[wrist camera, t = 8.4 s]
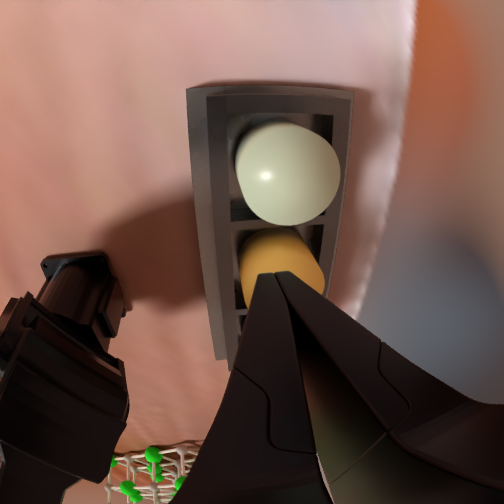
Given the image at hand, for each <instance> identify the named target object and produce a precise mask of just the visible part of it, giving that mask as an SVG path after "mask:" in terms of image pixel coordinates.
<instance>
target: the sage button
mask: <svg viewBox="0 0 504 504" xmlns="http://www.w3.org/2000/svg"><path fill="white" fill-rule="evenodd" d="M234 169H235V173H236V176H237V178H238V181H239V184H240V187H241V190H242V193H243V196H244V198H245V201H246V203H247V204H248V206H249V207H250V209H251V210H252V211H253V212H254V213H255V214H256V215H257V216H259V217H260V218H262V219H264V220H265V221H267V222H270V223H273V224H277V225H297V224H301V223H304V222H307V221H309V220H311V219H313V218H315V217H316V216H318V215H319V214H320V213H322V212H323V211H324V210H325V209H326V208H327V207H328V206H329V204H330V203H331V202H332V200H333V198H334V197H335V195H336V192H337V190H338V187H339V183H340V164H339V160H338V158H337V155H336V153H335V151H334V149H333V148H332V147H331V145H330V144H329V143H328V142H327V141H326V140H325V139H324V138H322V137H321V136H319V135H318V134H316V133H314V132H312V131H310V130H308V129H306V128H304V127H302V126H300V125H297V124H295V123H293V122H291V121H288V120H283V119H271V120H265V121H263V122H260V123H258V124H256V125H254V126H253V127H251V128H250V129H249V130H247V131H246V132H245V133H244V135H243V136H242V137H241V139H240V140H239V142H238V144H237V146H236V149H235V153H234Z"/></svg>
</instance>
